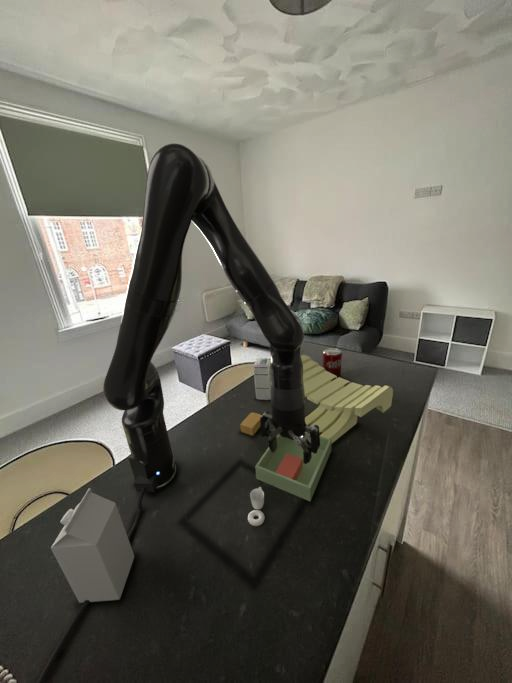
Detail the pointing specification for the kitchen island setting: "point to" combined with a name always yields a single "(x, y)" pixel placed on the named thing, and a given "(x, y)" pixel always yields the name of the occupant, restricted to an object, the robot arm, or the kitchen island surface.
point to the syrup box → (262, 378)
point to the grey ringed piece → (256, 507)
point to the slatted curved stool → (339, 400)
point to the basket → (308, 474)
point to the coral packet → (290, 467)
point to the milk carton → (94, 549)
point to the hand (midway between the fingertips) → (289, 455)
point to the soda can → (332, 361)
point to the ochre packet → (251, 424)
